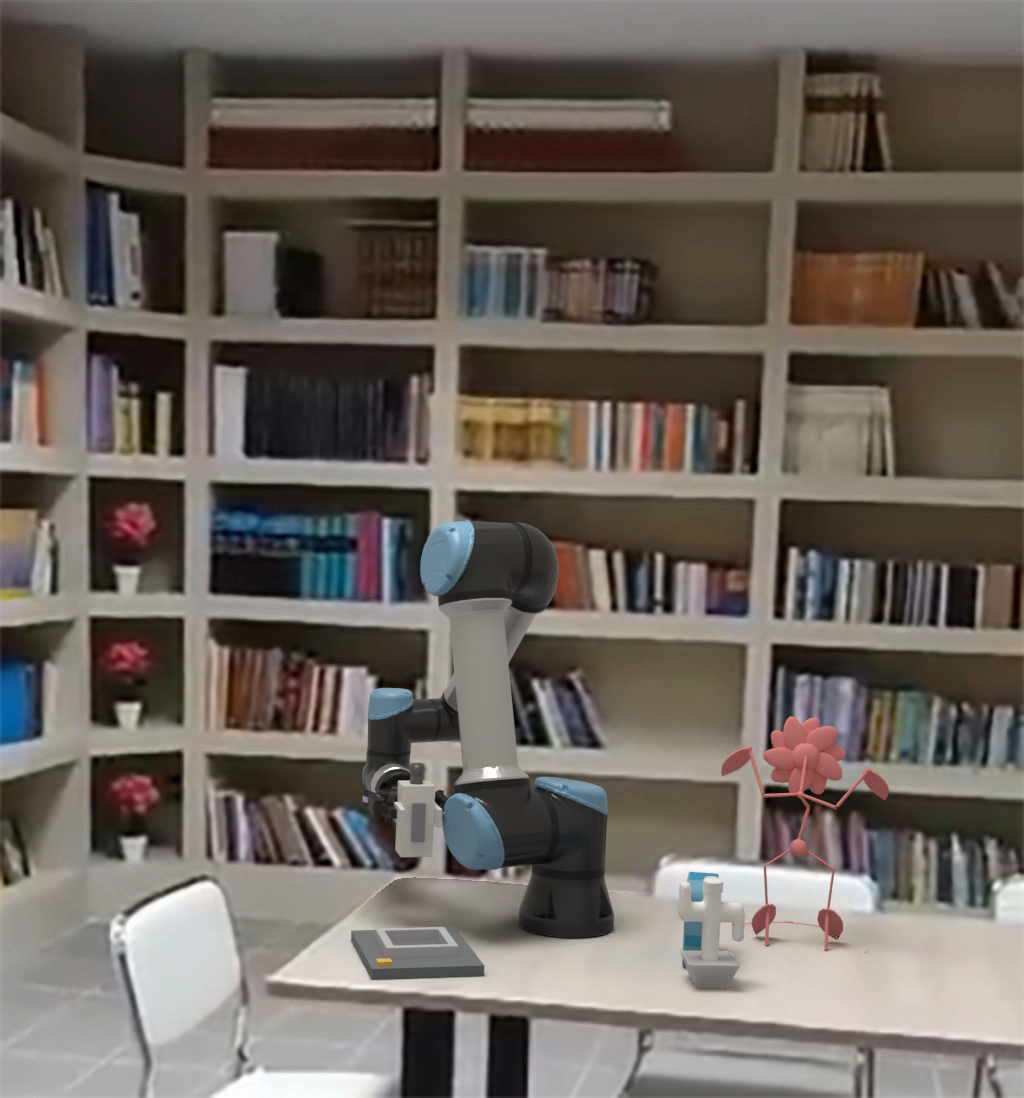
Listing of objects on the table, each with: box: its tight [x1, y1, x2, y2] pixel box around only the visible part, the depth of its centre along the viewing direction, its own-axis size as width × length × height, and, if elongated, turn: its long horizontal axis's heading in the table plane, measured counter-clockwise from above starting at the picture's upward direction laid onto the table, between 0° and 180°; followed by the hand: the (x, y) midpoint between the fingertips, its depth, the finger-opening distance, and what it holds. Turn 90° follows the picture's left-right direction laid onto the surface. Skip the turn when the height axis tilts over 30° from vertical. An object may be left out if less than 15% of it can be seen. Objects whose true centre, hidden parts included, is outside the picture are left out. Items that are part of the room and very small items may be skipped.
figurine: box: [678, 876, 746, 989], centre depth 234 cm, size 7×9×15 cm
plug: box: [394, 762, 436, 858], centre depth 258 cm, size 5×6×14 cm
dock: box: [350, 926, 485, 981], centre depth 241 cm, size 16×20×3 cm
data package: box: [681, 871, 720, 968], centre depth 246 cm, size 12×4×12 cm, turn 171°
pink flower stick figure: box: [720, 716, 890, 954], centre depth 260 cm, size 15×26×35 cm, turn 81°
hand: (421, 818), depth 253 cm, fingers closed on plug, 5 cm apart
